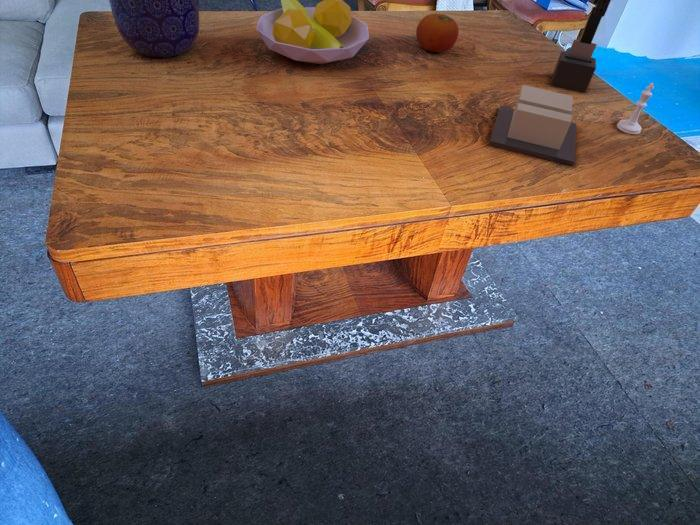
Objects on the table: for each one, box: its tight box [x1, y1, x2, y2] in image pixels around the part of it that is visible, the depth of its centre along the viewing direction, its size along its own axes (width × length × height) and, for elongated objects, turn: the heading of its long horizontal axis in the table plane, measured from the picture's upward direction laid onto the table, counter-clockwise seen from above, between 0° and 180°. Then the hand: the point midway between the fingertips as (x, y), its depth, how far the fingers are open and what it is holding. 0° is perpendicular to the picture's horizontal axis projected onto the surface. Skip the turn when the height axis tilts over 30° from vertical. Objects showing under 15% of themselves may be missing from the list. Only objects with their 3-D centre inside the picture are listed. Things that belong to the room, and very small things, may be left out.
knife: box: [567, 6, 603, 63], centre depth 116 cm, size 5×2×17 cm, turn 71°
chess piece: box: [616, 82, 655, 135], centre depth 105 cm, size 5×5×10 cm
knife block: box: [550, 50, 597, 94], centre depth 120 cm, size 8×6×6 cm
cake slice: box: [508, 103, 573, 150], centre depth 97 cm, size 10×3×6 cm, turn 71°
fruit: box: [415, 12, 459, 53], centre depth 128 cm, size 11×10×8 cm
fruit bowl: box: [255, 0, 370, 65], centre depth 120 cm, size 28×27×11 cm
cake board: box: [488, 105, 577, 167], centre depth 102 cm, size 16×16×1 cm
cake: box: [510, 84, 574, 126], centre depth 102 cm, size 10×7×6 cm
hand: (598, 9), depth 110 cm, fingers open, 8 cm apart
